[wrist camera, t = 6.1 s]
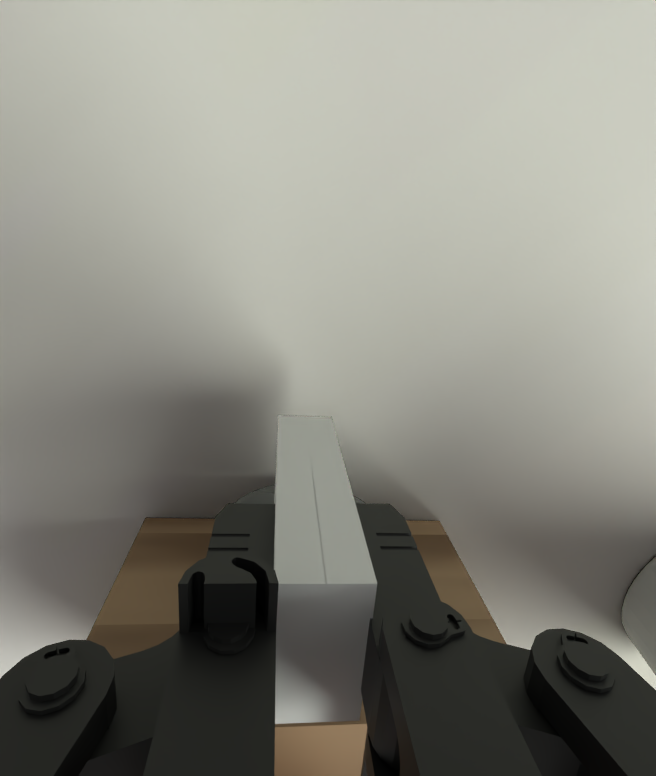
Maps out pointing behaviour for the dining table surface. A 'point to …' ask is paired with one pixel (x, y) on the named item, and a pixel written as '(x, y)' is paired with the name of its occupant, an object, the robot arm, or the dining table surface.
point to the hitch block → (161, 621)
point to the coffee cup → (642, 613)
